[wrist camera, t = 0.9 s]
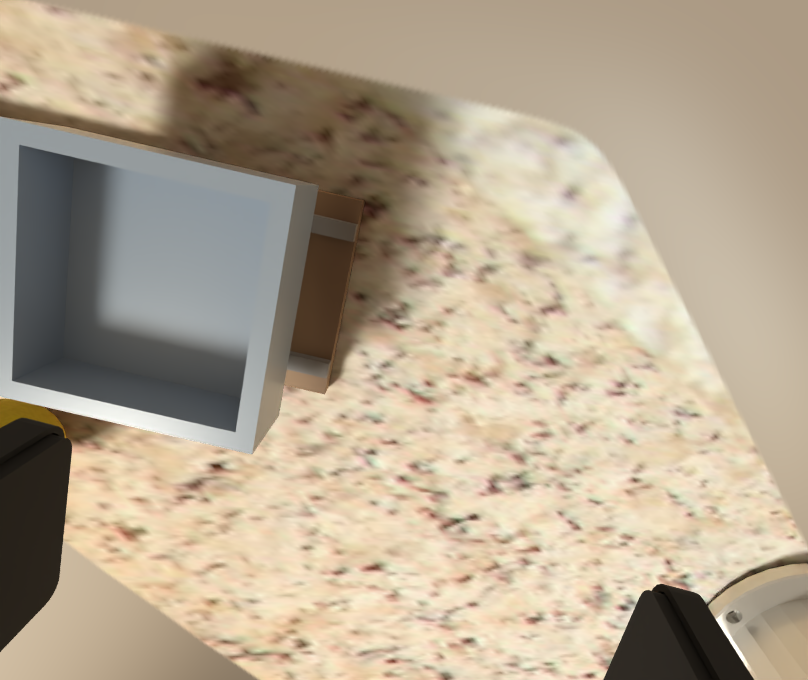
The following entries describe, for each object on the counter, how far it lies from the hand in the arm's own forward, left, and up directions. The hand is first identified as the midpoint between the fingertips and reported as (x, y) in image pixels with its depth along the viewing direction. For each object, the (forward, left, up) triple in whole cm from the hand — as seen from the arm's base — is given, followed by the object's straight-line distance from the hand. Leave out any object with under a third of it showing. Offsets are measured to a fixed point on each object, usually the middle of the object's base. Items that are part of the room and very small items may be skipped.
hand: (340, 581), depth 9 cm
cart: (+9, +4, -19) cm, 22 cm away
